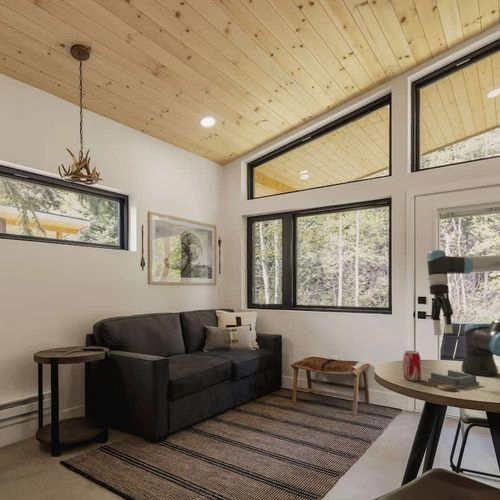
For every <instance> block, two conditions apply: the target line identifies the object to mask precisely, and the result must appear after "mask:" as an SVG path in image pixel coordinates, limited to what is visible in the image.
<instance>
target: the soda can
mask: <svg viewBox="0 0 500 500" xmlns="http://www.w3.org/2000/svg"><path fill="white" fill-rule="evenodd" d="M402 360H403V363H402V364H403V367H402V368H403V378H404V379H405V380H406V381H411V382H418V381H419V380H421V375H422V372H421V371H422V370H421V369H422V368H421V367H422V365H421V364H422V363H421V362H422V361H421V360H422V359H421V355H420V352H419V351H417V350H416V351H414V350H405V351H404V354H403V359H402Z"/></svg>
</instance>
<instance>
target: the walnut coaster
mask: <svg viewBox="0 0 500 500" xmlns="http://www.w3.org/2000/svg"><path fill="white" fill-rule="evenodd" d="M437 389H438V390H441V391H442V392H453V393H454V392H457V391H458V389H457V387H456V386H452V385H446V384H437Z"/></svg>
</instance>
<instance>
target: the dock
mask: <svg viewBox="0 0 500 500" xmlns="http://www.w3.org/2000/svg"><path fill="white" fill-rule="evenodd" d="M427 381H428V382H429V383H434V384H437V385H440V384H446V385H452V386H456V387H457V390H462V389H466V388H472V387H478V386H479V385H480V381H477V375H473V374H468V373H465V372H462V371H461V372H460V371H457V370H451V369H448V370H447V374H446V375H445V374H441V373H436V372H430V377H428V379H427Z"/></svg>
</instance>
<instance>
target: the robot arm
mask: <svg viewBox="0 0 500 500" xmlns="http://www.w3.org/2000/svg"><path fill="white" fill-rule="evenodd" d="M426 255H427V257H426V262H427V271H428V277H427V280H428V282H429V285H430V286H429V294H430V295H433V296H434V297H432V298H431V313H430V314H431V315H430V319H431V320H432V325H433V333H434V334H433V335H434V336H442V328H441V319H440V316H441V311H442V313H443V315H442V317H443V325H444V333H445V334H453V332H454V331H453V322H452V317H453V316H452V315H454V311H453V307H452V305H451V301H450V297H449V293H450V291H449V285H448V284H449V279H448V277H449V276H448V275H449V274H450V275H451V274H455V275H456V274H458V275H459V274H461V275H467V274H468V275H470V274H471V273H481V272H483V273H484V272H500V253H499V254H498V255H497V254H496V255H480V256H479V255H478V256H450V255H446V252H445V250H442V249H436V250H435V249H434V250H431V251H428V253H427V254H426ZM464 352H465V353H464V358H463V361H462V364H461V372H462V373H466V374H470V375H474V376H482V377H496V376H498V375H499V370H498V367H497V364H496V362H495V359H494V356H495V357H500V315H499V316H498V318H497V319H495V320H492V322H491V323H475V324H474V323H473V324H472V323H470V324H465V326H464Z"/></svg>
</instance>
